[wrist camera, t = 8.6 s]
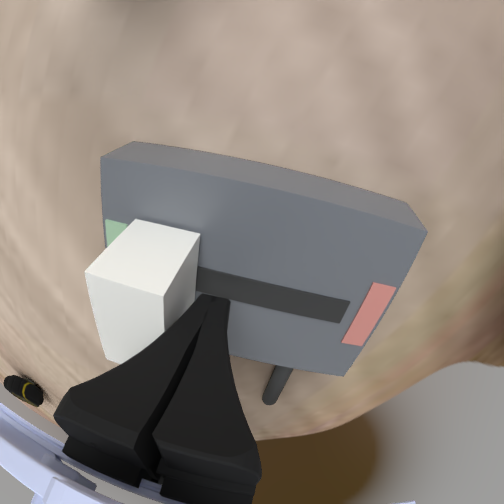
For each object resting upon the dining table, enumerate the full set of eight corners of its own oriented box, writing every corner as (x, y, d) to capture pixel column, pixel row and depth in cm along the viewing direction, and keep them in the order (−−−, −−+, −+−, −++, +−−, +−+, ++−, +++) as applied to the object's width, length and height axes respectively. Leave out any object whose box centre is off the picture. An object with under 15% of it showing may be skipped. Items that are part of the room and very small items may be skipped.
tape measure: (5, 369, 34) (-1, 388, 32) (22, 372, 33) (15, 392, 30) (33, 388, 39) (28, 405, 36) (52, 391, 37) (47, 410, 35)
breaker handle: (200, 233, 12) (163, 296, 9) (193, 318, 15) (167, 380, 12) (135, 218, 12) (84, 271, 9) (140, 302, 15) (106, 358, 12)
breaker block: (407, 203, 13) (428, 233, 11) (340, 340, 19) (343, 377, 16) (133, 141, 14) (99, 157, 11) (136, 290, 19) (115, 322, 17)
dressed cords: (309, 327, 18) (309, 341, 17) (275, 397, 23) (274, 408, 22) (168, 293, 19) (162, 305, 18) (170, 371, 24) (166, 382, 23)
